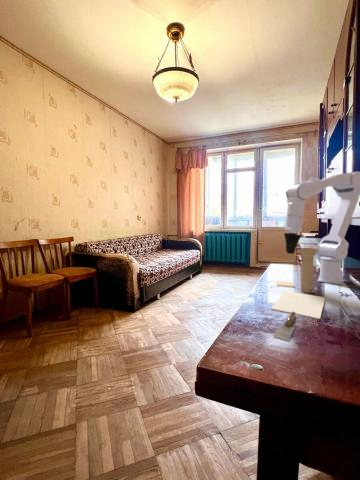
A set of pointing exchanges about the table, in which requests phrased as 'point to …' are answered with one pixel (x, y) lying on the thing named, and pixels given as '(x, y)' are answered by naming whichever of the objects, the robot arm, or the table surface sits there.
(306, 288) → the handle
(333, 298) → the table surface
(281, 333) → the turner
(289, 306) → the felt mat
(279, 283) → the beige tile
